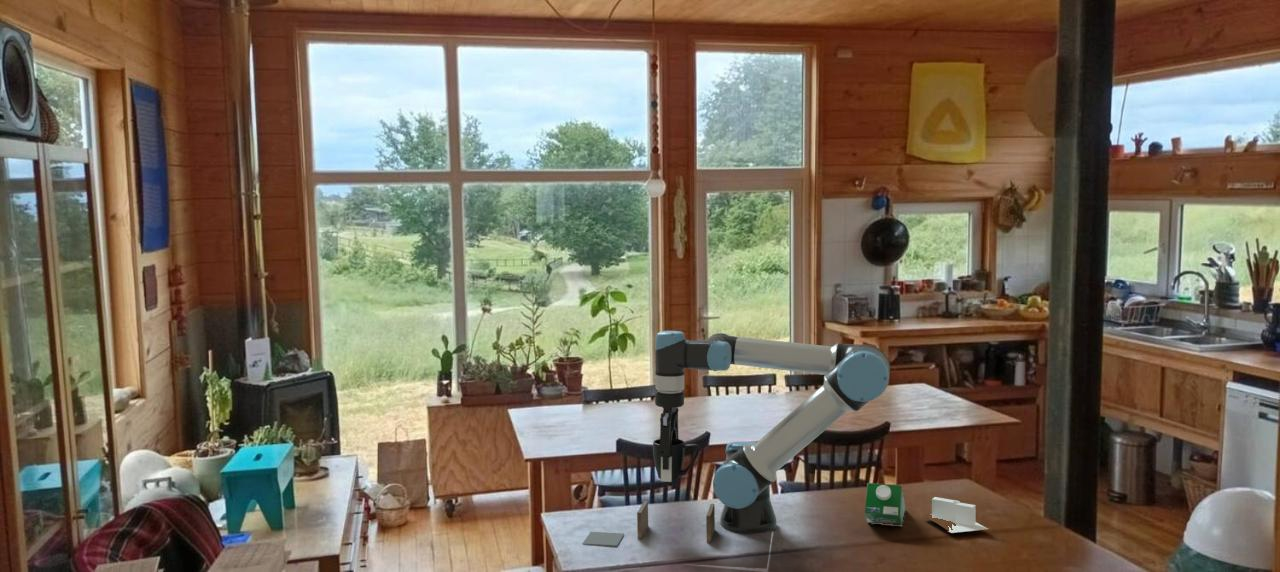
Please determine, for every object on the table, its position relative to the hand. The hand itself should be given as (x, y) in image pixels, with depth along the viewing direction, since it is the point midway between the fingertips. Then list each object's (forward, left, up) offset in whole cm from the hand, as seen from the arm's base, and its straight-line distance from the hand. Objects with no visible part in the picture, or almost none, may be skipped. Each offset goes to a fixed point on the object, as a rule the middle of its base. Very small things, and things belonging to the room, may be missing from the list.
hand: (669, 476), depth 239 cm
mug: (-2, 0, -1) cm, 2 cm away
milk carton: (-58, -34, -22) cm, 71 cm away
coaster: (+16, +7, -16) cm, 24 cm away
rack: (-2, 0, -16) cm, 16 cm away
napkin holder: (-75, -22, -16) cm, 80 cm away
